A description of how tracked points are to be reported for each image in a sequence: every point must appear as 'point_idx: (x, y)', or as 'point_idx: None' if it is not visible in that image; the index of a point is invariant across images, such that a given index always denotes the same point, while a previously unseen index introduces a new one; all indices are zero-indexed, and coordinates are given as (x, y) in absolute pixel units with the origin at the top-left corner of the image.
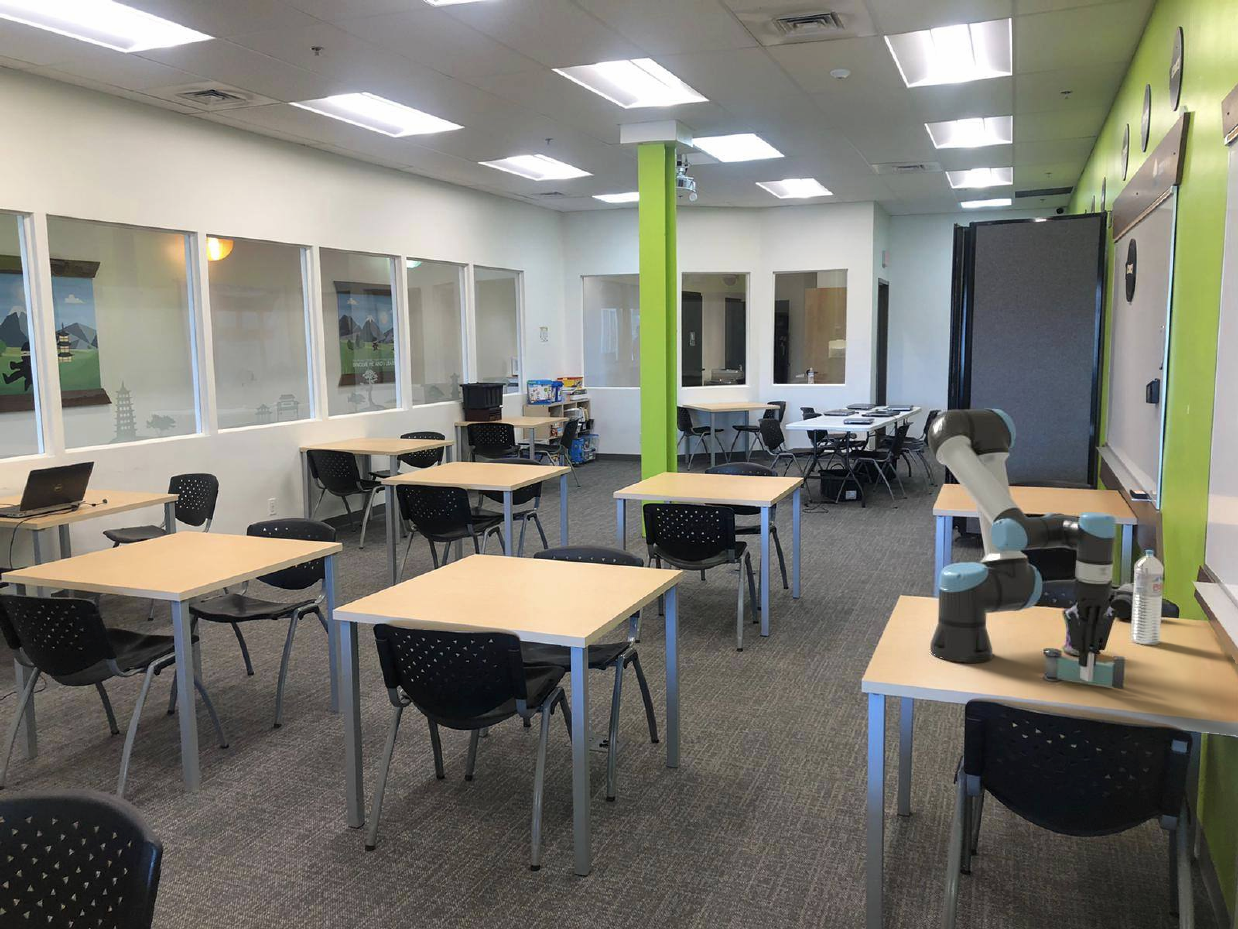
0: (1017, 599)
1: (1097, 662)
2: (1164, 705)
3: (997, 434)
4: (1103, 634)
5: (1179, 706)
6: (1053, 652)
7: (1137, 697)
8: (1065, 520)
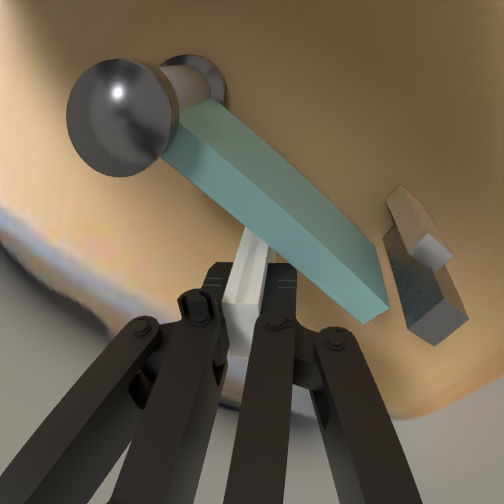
0: None
1: (340, 266)
2: (388, 366)
3: None
4: (333, 466)
5: (414, 374)
6: (102, 157)
7: (377, 319)
8: None
